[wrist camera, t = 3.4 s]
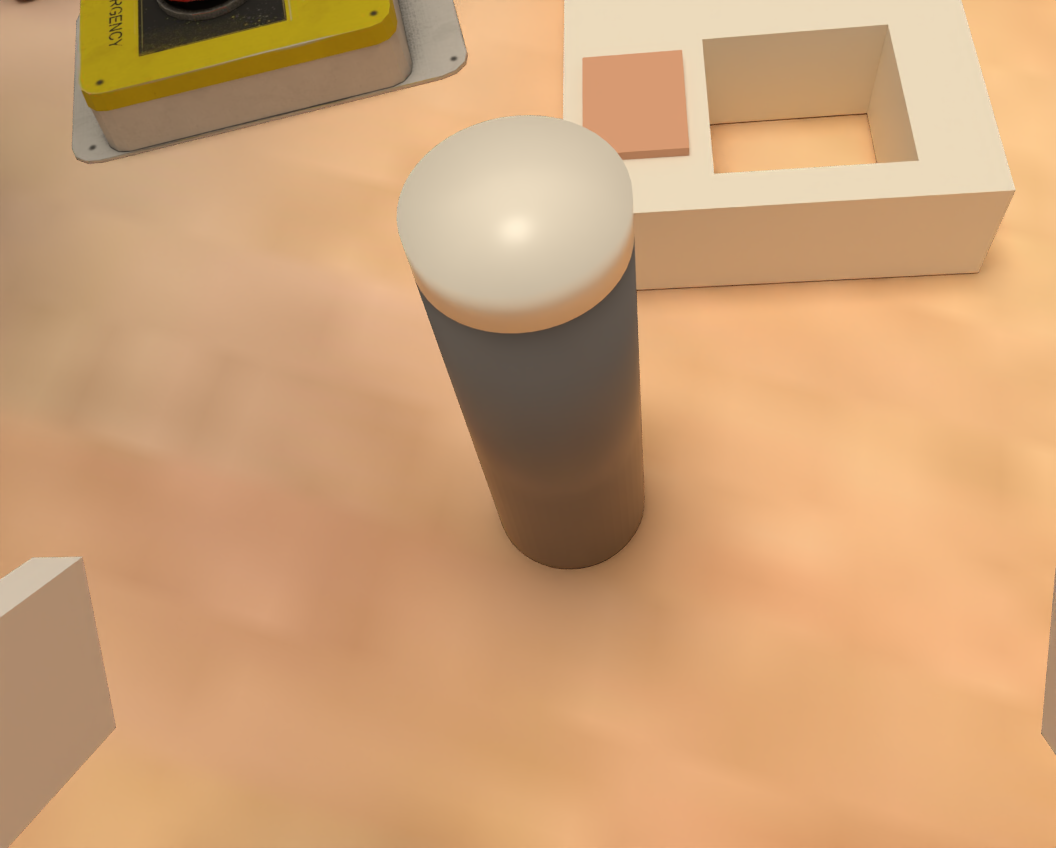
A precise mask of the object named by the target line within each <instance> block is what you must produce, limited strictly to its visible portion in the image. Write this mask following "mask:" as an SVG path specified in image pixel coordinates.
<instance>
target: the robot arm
mask: <svg viewBox="0 0 1056 848" xmlns="http://www.w3.org/2000/svg"><path fill="white" fill-rule="evenodd" d="M115 728H116V724H115V719H114V714H113V709H112V704H111V699H110V694H109V689H108V684H107V679H106V673H105V668H104V663H103V658H102V653H101V648H100V643H99V638H98V633H97V628H96V623H95V617H94V612H93V607H92V602H91V597H90V592H89V587H88V582H87V577H86V572H85V567H84V562H83V557H38V558H31V559H30V560H28V561H27V562H25V563H24V564H22V565H21V566H19V567H18V568H16V569H15V570H13V571H12V572H10V573H9V574H7V575H6V576H4V577H3V578H2V579H0V848H8V847H9V846H10V845H11V844H12V843H13V841H14V840H15V839H16V838H17V837H18V836H19V835H20V834H21V833H22V831H23V830H24V829H25V828H26V827H27V826H28V825H29V824H30V823H31V821H32V820H33V819H34V818H35V817H36V816H37V815H38V814H39V813H40V811H41V810H42V809H43V808H44V807H45V806H46V805H47V804H48V803H49V801H50V800H51V799H52V798H53V797H54V796H55V795H56V794H57V793H58V791H59V790H60V789H61V788H62V787H63V786H64V785H65V784H66V783H67V781H68V780H69V779H70V778H71V777H72V776H73V775H74V774H75V773H76V771H77V770H78V769H79V768H80V767H81V766H82V765H83V764H84V763H85V761H86V760H87V759H88V758H89V757H90V756H91V755H92V754H93V753H94V751H95V750H96V749H97V748H98V747H99V746H100V745H101V744H102V743H103V741H104V740H105V739H106V738H107V737H108V736H109V735H110V734H111V733H112V731H113V730H114V729H115ZM1041 734H1042V736H1043V737H1044V739H1045V740H1046V741H1047V743H1048V744H1049V746H1050V747H1051V749H1052V750H1053V752H1054V753H1055V755H1056V570H1055V581H1054V593H1053V604H1052V616H1051V627H1050V639H1049V650H1048V662H1047V673H1046V684H1045V696H1044V707H1043V719H1042V730H1041Z"/></svg>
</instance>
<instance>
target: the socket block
mask: <svg viewBox="0 0 1056 848" xmlns="http://www.w3.org/2000/svg"><path fill="white" fill-rule="evenodd" d="M862 113H867V116H868V121H869V126H870V131H871V136H872V141H873V146H874V151H875V156H876V161H877V163H875V164H859V165H844V166H828V167H813V168H797V169H781V170H766V171H750V172H735V173H719V174H714V167H713V156H712V145H711V133H710V124H719V123H733V122H748V121H762V120H776V119H790V118H805V117H819V116H833V115H848V114H862ZM563 120H566V121H569V122H573V123H575V124H578V125H580V126H583V127H585V128H587V129H589V130H590V131H592V132H594V133H596V134H597V135H599V136H600V137H601V138H603V139H604V140H605V141H607V142H608V143H609V144H610V145H611V146H612V147H613V148H614V149H615V150H616V152H617V153H618V155H619V156H620V157H621V159H622V160H623V162H624V164H625V166H626V168H627V170H628V173H629V176H630V179H631V183H632V192H633V213H634V239H635V265H636V290H645V289H664V288H684V287H703V286H723V285H743V284H762V283H782V282H801V281H821V280H841V279H860V278H880V277H899V276H919V275H939V274H958V273H978V272H979V270H980V268H981V266H982V263H983V261H984V259H985V257H986V255H987V252H988V250H989V248H990V246H991V243H992V241H993V239H994V237H995V235H996V232H997V230H998V228H999V226H1000V224H1001V221H1002V219H1003V217H1004V215H1005V212H1006V210H1007V208H1008V206H1009V204H1010V201H1011V199H1012V197H1013V195H1014V192H1015V187H1014V183H1013V180H1012V176H1011V173H1010V169H1009V166H1008V162H1007V159H1006V155H1005V152H1004V148H1003V145H1002V141H1001V138H1000V134H999V131H998V127H997V124H996V120H995V117H994V113H993V110H992V106H991V103H990V99H989V96H988V92H987V89H986V85H985V81H984V78H983V74H982V71H981V67H980V64H979V60H978V57H977V53H976V50H975V46H974V43H973V39H972V36H971V32H970V29H969V25H968V22H967V18H966V15H965V11H964V8H963V4H962V1H961V0H564V77H563Z"/></svg>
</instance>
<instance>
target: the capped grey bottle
mask: <svg viewBox="0 0 1056 848" xmlns="http://www.w3.org/2000/svg"><path fill="white" fill-rule="evenodd" d="M397 226H398V232H399V236H400V239H401V242H402V245H403V248H404V250H405V253H406V256H407V259H408V262H409V264H410V267H411V270H412V273H413V276H414V278H415V281H416V284H417V287H418V290H419V293H420V295H421V298H422V301H423V304H424V307H425V309H426V312H427V315H428V318H429V321H430V323H431V326H432V329H433V332H434V335H435V337H436V340H437V343H438V346H439V349H440V351H441V354H442V357H443V360H444V363H445V365H446V368H447V371H448V374H449V377H450V379H451V382H452V385H453V388H454V391H455V393H456V396H457V399H458V402H459V405H460V408H461V410H462V413H463V416H464V419H465V422H466V424H467V427H468V430H469V433H470V436H471V438H472V441H473V444H474V447H475V450H476V452H477V455H478V458H479V461H480V464H481V466H482V469H483V472H484V475H485V478H486V480H487V483H488V486H489V489H490V492H491V494H492V497H493V500H494V503H495V506H496V509H497V511H498V514H499V517H500V520H501V523H502V525H503V528H504V530H505V532H506V534H507V536H508V537H509V539H510V540H511V542H512V543H513V544H514V545H515V546H516V547H517V548H518V550H520V551H521V552H522V553H523V554H525V555H526V556H527V557H529V558H531V559H532V560H534V561H536V562H538V563H541V564H543V565H547V566H550V567H555V568H561V569H576V568H584V567H589V566H592V565H595V564H598V563H601V562H603V561H605V560H607V559H609V558H610V557H612V556H613V555H615V554H616V553H618V552H619V551H620V550H621V549H622V548H623V547H624V546H625V545H626V544H627V543H628V542H629V541H630V540H631V538H632V537H633V535H634V534H635V532H636V530H637V528H638V526H639V524H640V521H641V518H642V515H643V510H644V475H643V449H642V422H641V396H640V370H639V344H638V318H637V292H636V265H635V239H634V213H633V192H632V183H631V179H630V176H629V173H628V170H627V168H626V166H625V164H624V162H623V160H622V159H621V157H620V156H619V155H618V153H617V152H616V150H615V149H614V148H613V147H612V146H611V145H610V144H609V143H608V142H607V141H605V140H604V139H603V138H601V137H600V136H599V135H597V134H596V133H594V132H592V131H590V130H589V129H587V128H585V127H583V126H580V125H578V124H575V123H573V122H569V121H566V120H562V119H558V118H553V117H547V116H534V115H524V116H510V117H502V118H497V119H493V120H488V121H485V122H482V123H479V124H475V125H473V126H470V127H468V128H466V129H463V130H461V131H459V132H457V133H455V134H454V135H452V136H450V137H448V138H447V139H445V140H444V141H442V142H441V143H439V144H438V145H436V146H435V147H434V148H433V149H432V150H431V151H429V152H428V153H427V154H426V155H425V156H424V157H423V158H422V159H421V160H420V161H419V163H418V164H417V165H416V166H415V168H414V169H413V170H412V172H411V173H410V175H409V177H408V178H407V180H406V182H405V184H404V186H403V189H402V191H401V194H400V197H399V202H398V207H397Z"/></svg>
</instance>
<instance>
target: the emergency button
mask: <svg viewBox="0 0 1056 848" xmlns="http://www.w3.org/2000/svg"><path fill="white" fill-rule="evenodd" d="M466 61H467V51H466V47H465V44H464V40H463V36H462V32H461V29H460V25H459V21H458V18H457V14H456V10H455V6H454V3H453V0H81V1H80V14H79V17H78V19H77V21H76V48H75V76H74V104H73V133H72V150H73V152H74V154H75V157H76V158H77V160H80V161H82V162H85V163H87V164H90V163H103V162H107V161H111V160H115V159H119V158H123V157H127V156H131V155H135V154H140V153H144V152H148V151H152V150H156V149H160V148H164V147H168V146H172V145H176V144H180V143H184V142H189V141H193V140H197V139H201V138H205V137H209V136H213V135H217V134H221V133H225V132H229V131H233V130H237V129H242V128H246V127H250V126H254V125H258V124H262V123H266V122H270V121H274V120H278V119H282V118H286V117H291V116H295V115H299V114H303V113H307V112H311V111H315V110H319V109H323V108H327V107H331V106H335V105H340V104H344V103H348V102H352V101H356V100H360V99H364V98H368V97H372V96H376V95H380V94H384V93H389V92H393V91H397V90H401V89H405V88H409V87H413V86H417V85H421V84H425V83H429V82H433V81H438V80H442V79H444V78H447V77H449V76H452V75H454V74H456V73H458V72H459V71H460V70H461V69H462V68H463V67H464V66H465V65H466Z"/></svg>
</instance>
